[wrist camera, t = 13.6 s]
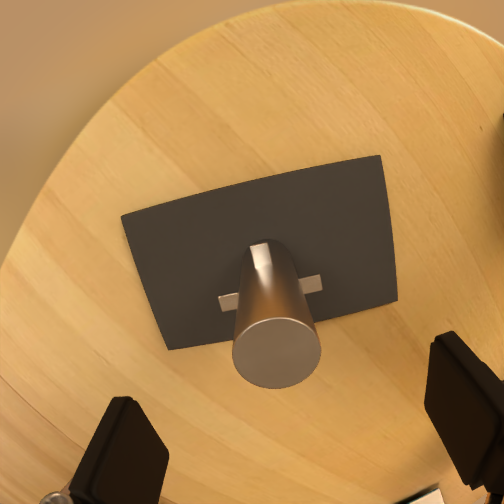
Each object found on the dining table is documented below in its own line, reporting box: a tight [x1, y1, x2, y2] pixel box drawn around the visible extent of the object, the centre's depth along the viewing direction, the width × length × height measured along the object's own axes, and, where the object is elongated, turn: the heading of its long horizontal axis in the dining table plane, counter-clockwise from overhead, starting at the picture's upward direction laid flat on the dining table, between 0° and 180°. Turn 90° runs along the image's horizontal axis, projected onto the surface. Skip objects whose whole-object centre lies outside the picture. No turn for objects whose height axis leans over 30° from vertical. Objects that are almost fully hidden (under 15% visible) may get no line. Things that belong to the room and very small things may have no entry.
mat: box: [121, 155, 398, 350], centre depth 24 cm, size 12×20×1 cm, turn 103°
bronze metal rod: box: [218, 239, 323, 389], centre depth 18 cm, size 6×6×12 cm
